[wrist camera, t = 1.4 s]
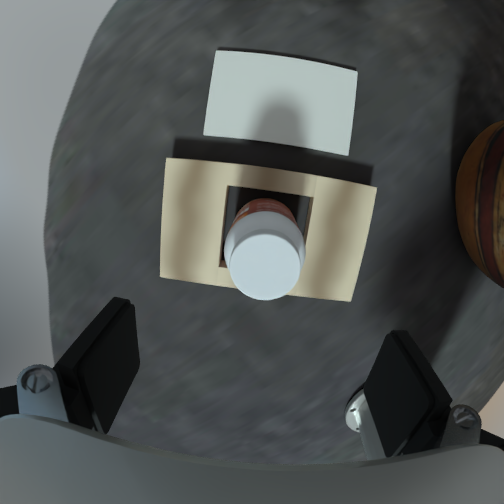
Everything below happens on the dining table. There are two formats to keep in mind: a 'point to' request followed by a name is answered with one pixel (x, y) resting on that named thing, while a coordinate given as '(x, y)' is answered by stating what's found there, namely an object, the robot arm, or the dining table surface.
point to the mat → (281, 101)
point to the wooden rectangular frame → (317, 187)
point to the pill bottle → (264, 249)
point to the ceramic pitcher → (483, 201)
